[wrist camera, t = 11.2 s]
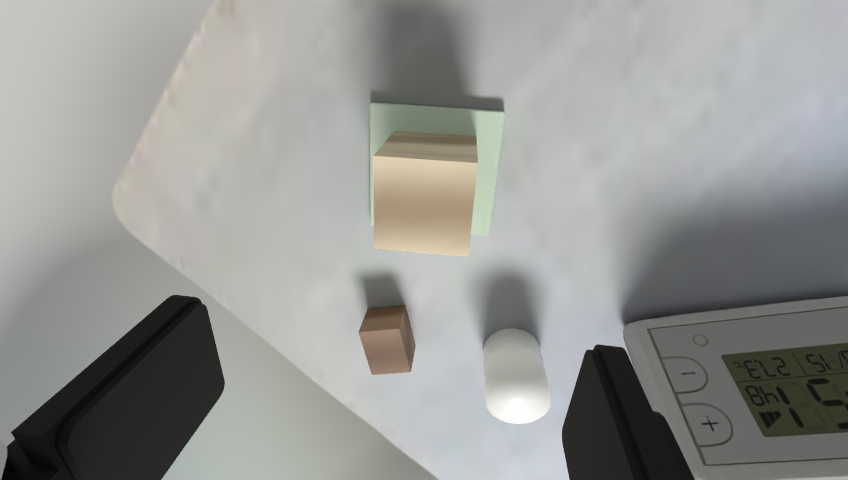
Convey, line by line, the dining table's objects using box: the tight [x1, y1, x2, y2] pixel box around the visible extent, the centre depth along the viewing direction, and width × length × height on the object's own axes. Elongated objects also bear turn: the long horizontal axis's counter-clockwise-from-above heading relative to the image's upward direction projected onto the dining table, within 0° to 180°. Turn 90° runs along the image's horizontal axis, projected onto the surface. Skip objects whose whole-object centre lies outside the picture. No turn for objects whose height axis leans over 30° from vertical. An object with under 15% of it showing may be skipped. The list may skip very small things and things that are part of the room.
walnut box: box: [359, 305, 415, 375], centre depth 31 cm, size 4×3×3 cm
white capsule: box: [483, 328, 551, 424], centre depth 30 cm, size 4×4×5 cm
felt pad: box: [370, 102, 505, 236], centre depth 26 cm, size 8×8×1 cm
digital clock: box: [623, 296, 848, 480], centre depth 25 cm, size 16×9×11 cm, turn 92°
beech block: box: [373, 131, 478, 257], centre depth 23 cm, size 5×5×6 cm
